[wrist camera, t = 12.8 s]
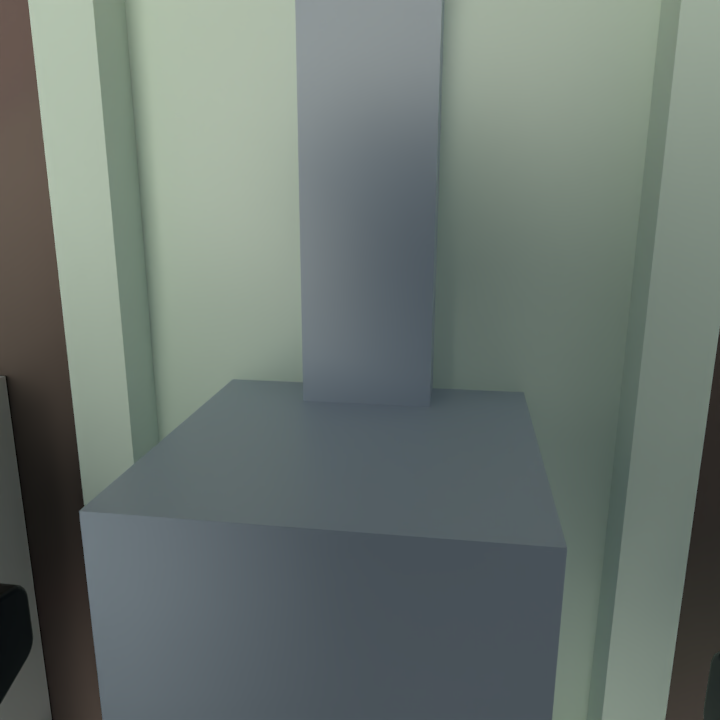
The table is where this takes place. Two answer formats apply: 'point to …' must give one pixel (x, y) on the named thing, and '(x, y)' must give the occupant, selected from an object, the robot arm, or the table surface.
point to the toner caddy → (341, 460)
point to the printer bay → (19, 578)
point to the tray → (453, 267)
